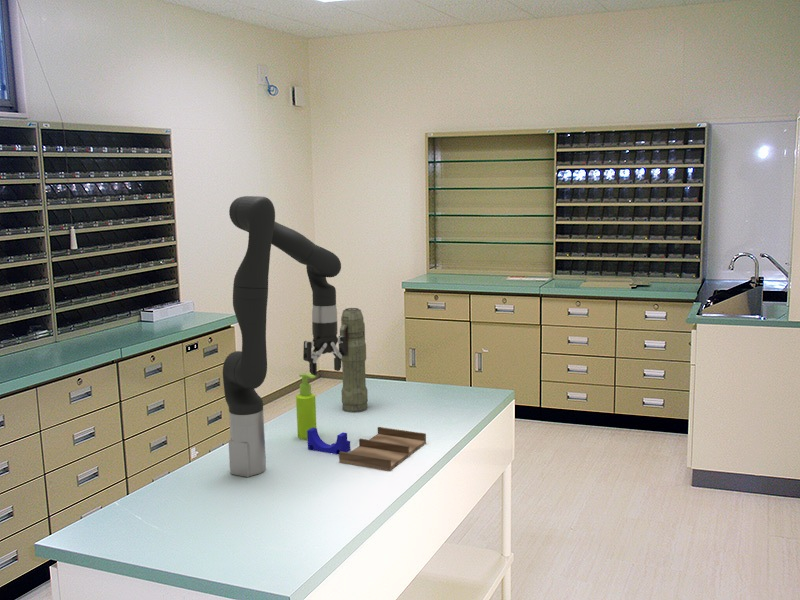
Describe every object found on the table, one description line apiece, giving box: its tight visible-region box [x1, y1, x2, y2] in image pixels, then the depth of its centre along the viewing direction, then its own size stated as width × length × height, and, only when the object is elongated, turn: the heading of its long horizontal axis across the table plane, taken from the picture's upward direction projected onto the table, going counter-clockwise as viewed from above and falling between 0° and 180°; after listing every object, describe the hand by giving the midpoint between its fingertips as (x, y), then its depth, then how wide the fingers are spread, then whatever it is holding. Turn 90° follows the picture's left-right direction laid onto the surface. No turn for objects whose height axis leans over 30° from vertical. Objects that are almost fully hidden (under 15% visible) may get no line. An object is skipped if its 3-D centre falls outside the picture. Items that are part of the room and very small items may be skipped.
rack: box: [338, 426, 427, 472], centre depth 228 cm, size 24×16×3 cm, turn 154°
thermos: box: [339, 307, 369, 413], centre depth 268 cm, size 9×12×35 cm
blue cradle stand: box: [307, 427, 351, 455], centre depth 231 cm, size 12×4×6 cm, turn 62°
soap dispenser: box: [295, 372, 317, 441], centre depth 241 cm, size 6×7×20 cm
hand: (325, 372), depth 237 cm, fingers open, 8 cm apart
